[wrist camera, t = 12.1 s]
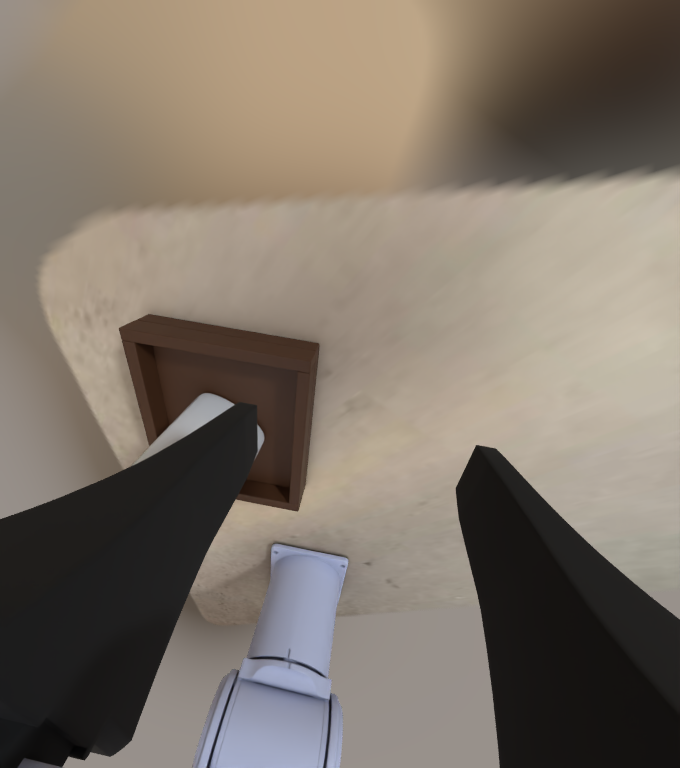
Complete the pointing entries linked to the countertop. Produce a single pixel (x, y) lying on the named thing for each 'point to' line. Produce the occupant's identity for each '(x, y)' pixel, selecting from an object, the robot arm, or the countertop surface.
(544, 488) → the countertop surface
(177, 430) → the eye dropper bottle
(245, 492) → the tray
